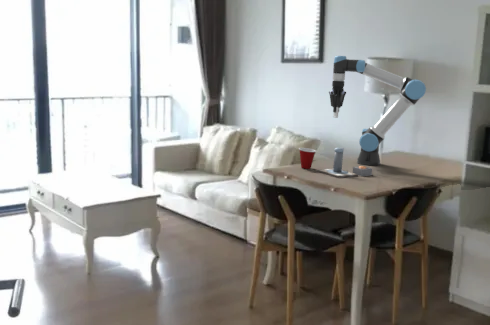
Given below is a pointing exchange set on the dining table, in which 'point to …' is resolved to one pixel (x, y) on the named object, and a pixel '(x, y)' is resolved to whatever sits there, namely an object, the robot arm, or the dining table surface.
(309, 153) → the plastic cup
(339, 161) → the grey tall block
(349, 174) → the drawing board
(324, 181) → the dining table surface
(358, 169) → the button housing
